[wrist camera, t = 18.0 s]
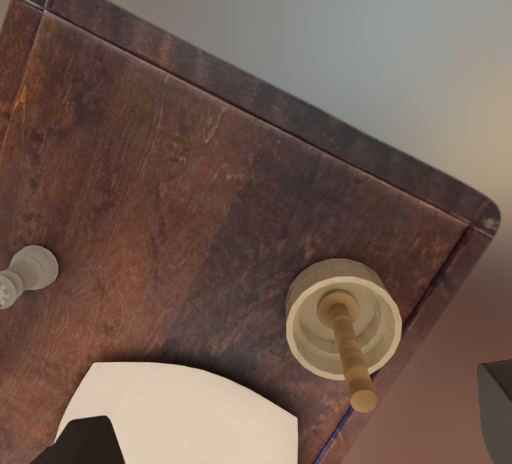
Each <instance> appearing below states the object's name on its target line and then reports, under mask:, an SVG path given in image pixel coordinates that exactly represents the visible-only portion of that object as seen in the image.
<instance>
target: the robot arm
mask: <svg viewBox="0 0 512 464" xmlns="http://www.w3.org/2000/svg"><path fill="white" fill-rule="evenodd" d="M477 379H478V392H479V406H480V419H481V428H482V434H483V438H484V441H485V444H486V447H487V450H488V452H489V455H490V457H491V459H492V461H493V462H494V464H512V359H511V360H503V361H497V362H490V363H482V364H479V365H478V368H477ZM30 464H126V463H125V460H124V457H123V454H122V451H121V449H120V446H119V443H118V440H117V437H116V434H115V431H114V428H113V425H112V423H111V420H110V419H109V418H108V417H107V416H106V415H102V416H94V417H87V418H80V419H73V420H71V421H69V422H68V423H67V425H66V426H65V428H64V429H63V431H62V432H61V434H60V435H59V437H58V439H57V440H56V442H55V443H54V445H53V446H52V447H47V448H46V449H45V450H44V451H43V452H42V453H41V454H40V455H39V456H38V457H37V458H35V459H34V460H33V461H32V462H31V463H30Z"/></svg>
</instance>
